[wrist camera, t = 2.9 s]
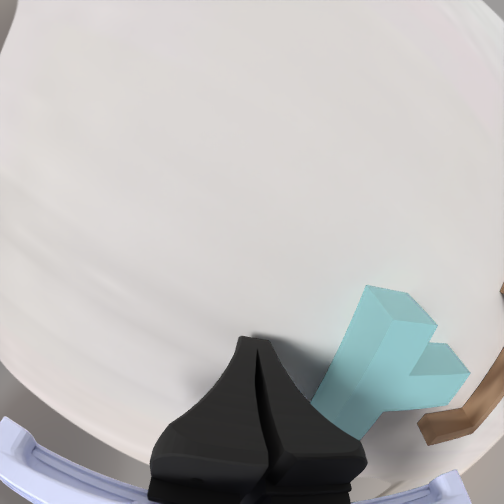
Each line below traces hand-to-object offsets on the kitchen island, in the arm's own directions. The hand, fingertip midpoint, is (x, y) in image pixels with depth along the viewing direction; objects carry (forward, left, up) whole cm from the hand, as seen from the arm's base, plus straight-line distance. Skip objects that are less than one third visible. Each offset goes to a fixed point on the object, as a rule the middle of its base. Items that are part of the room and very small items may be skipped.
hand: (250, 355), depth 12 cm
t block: (0, -8, -1) cm, 8 cm away
